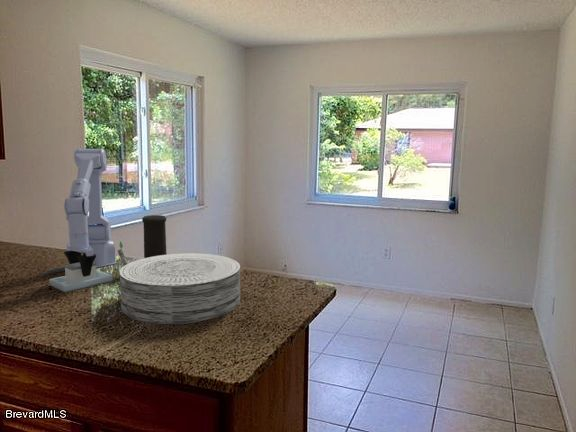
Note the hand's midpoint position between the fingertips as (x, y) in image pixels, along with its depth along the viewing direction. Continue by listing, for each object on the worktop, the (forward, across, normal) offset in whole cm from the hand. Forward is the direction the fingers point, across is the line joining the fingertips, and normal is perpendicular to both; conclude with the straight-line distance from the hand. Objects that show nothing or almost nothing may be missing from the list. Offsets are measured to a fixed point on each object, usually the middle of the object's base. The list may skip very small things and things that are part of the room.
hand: (81, 273), depth 156 cm
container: (+3, +2, +27) cm, 27 cm away
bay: (+3, -14, +2) cm, 14 cm away
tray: (+3, 0, 0) cm, 3 cm away
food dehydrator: (+4, +37, +11) cm, 39 cm away
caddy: (+3, 0, 0) cm, 3 cm away
